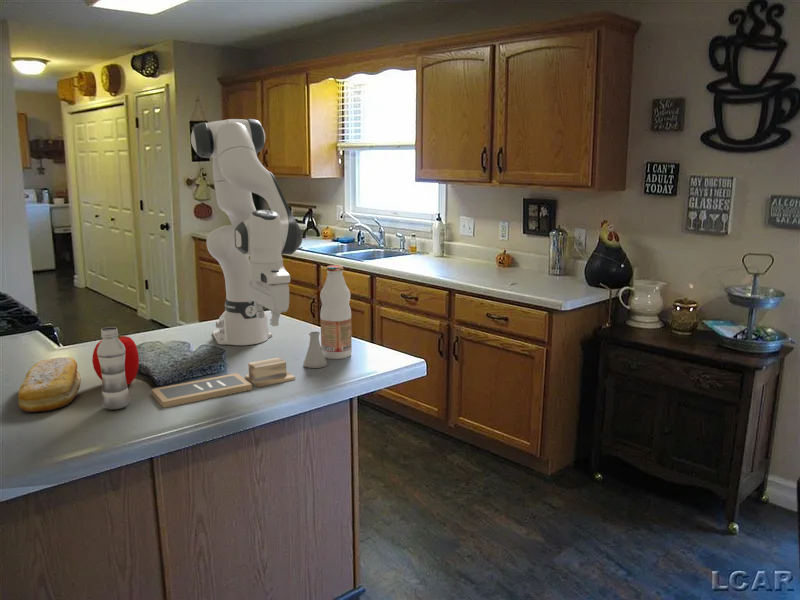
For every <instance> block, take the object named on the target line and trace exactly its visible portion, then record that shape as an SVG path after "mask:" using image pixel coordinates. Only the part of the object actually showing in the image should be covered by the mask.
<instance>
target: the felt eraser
mask: <svg viewBox="0 0 800 600" xmlns="http://www.w3.org/2000/svg"><path fill="white" fill-rule="evenodd" d="M286 371H287V362H286V361H285V360H284V359H282V358H280V357H275V358H274V357H273V358H268V359H264V360H263V359H262V360H257V361H253V362H252V361H251V362H248V374H249V377H250V378H251V379H253V380H254V381H256V382H258V381H263V380H268V379H273V378H278V377H283V376H287V372H288V371H287V372H286Z"/></svg>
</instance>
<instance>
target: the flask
mask: <svg viewBox="0 0 800 600" xmlns="http://www.w3.org/2000/svg"><path fill="white" fill-rule="evenodd" d="M308 335H309V345H308V348H307V351H306V355H305V357H304V361H303V365H302V366H303V368H309V369H319V368H320V369H321V368H324V367H326V366H328V364H327V363H328V362H327V358H325V357H324V354H323V352H322V349H321V341H320V336H321V331H314V330H313V331H309V332H308Z"/></svg>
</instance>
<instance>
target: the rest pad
mask: <svg viewBox="0 0 800 600" xmlns="http://www.w3.org/2000/svg"><path fill="white" fill-rule="evenodd" d="M286 372H287V376H283V377H278V378H273V379H268V380H263V381H258V382H256V381H254V380H253V379H251V378H250V377H249V373H248V374H245V375H244V379H246V380H247V381H248V382H250V383H251V384H252V385H254V384H255V385H254V386H256V387H257V388H260V387H264V386H270V385H275V384H279V383H285V382H289V381H294V380H295V381H296V376H295V375H294V374H292V373H290V372H289V371H287V370H286Z"/></svg>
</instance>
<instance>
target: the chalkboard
mask: <svg viewBox="0 0 800 600" xmlns="http://www.w3.org/2000/svg"><path fill="white" fill-rule="evenodd" d="M247 390H248V391H252V390H253V383H252V382H250V381H249V380H248V379H246V378H245V377H243V376H242V375H240V374H239V373H238V372H235V373H229V374H224V375H219V376H214V377H209V378H202V379H197V380H192V381H188V382H181V383H177V384H171V385H166V386H161V387H160V386H159V387H155V388H151V395H152V396H153V398H154V399H155V400H156V401H157V402H158V403H159V405H161V407H162V408H169V407H173V406H178V405H183V404H189V403H193V402H197V401H198V402H199V401H203V400H209V399H212V397H213V398H218V397H223V396H227V394H228V395H232V393H233V394H237V393H236V392H238V393H242V391H243V392H247ZM208 398H209V399H208Z"/></svg>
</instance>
